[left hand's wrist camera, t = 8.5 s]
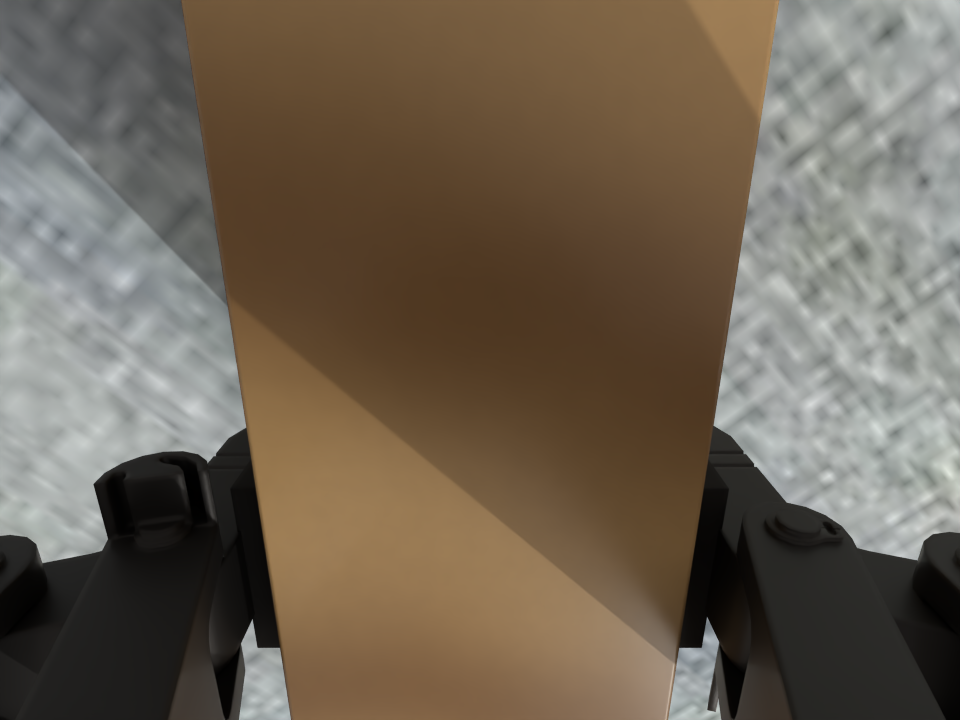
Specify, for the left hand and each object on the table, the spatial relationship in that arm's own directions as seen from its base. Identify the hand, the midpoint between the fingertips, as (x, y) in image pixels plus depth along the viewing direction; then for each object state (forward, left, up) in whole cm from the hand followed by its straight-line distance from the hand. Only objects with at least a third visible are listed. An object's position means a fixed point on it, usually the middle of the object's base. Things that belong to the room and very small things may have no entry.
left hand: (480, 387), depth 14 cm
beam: (-4, +35, -1) cm, 35 cm away
